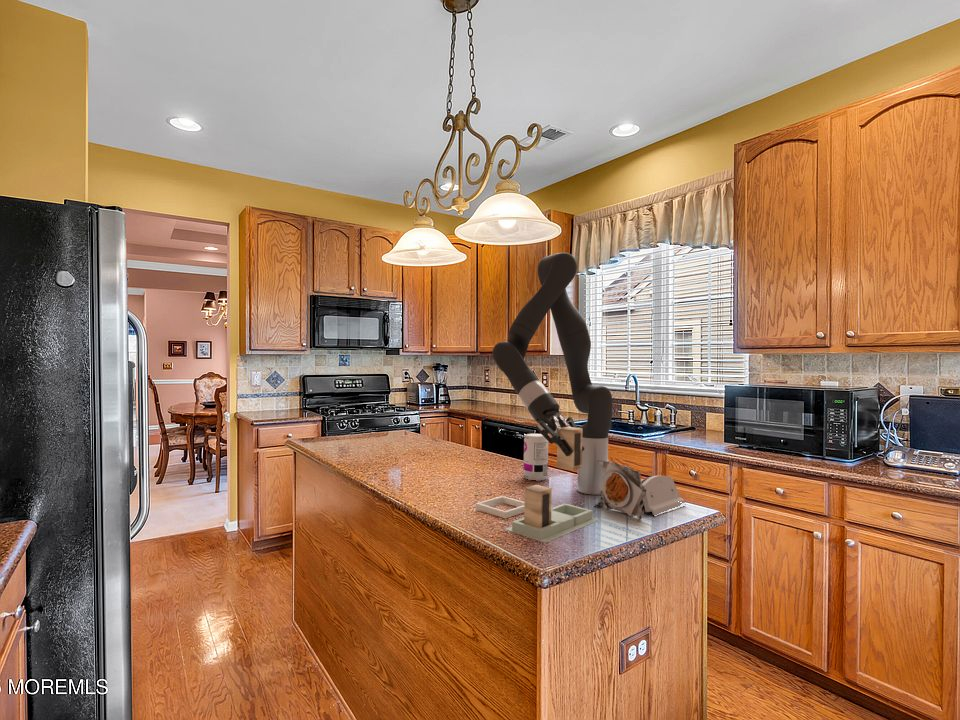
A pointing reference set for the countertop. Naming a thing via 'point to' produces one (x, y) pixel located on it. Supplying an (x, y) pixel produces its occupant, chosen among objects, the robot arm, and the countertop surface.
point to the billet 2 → (575, 442)
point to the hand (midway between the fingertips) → (576, 452)
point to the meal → (621, 489)
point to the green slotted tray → (556, 523)
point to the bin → (488, 504)
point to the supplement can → (535, 457)
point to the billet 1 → (537, 506)
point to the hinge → (660, 494)
